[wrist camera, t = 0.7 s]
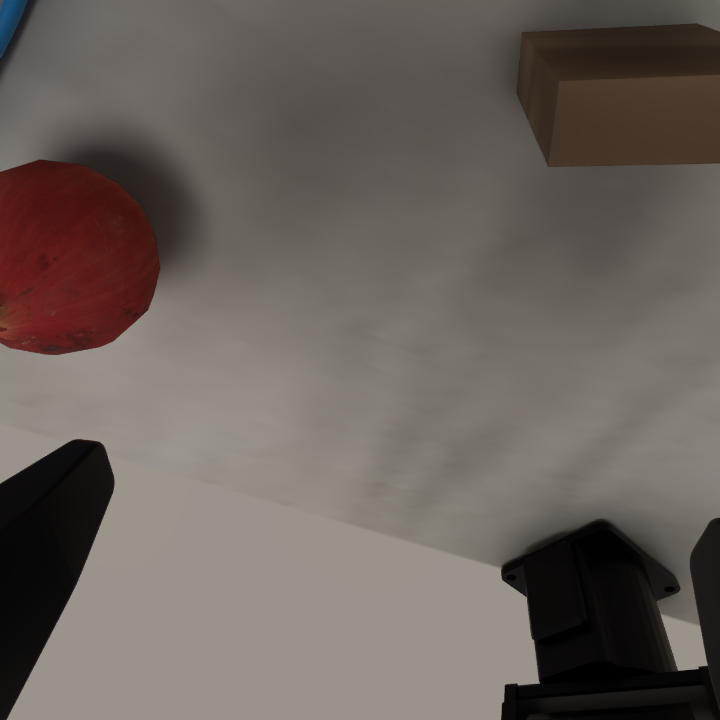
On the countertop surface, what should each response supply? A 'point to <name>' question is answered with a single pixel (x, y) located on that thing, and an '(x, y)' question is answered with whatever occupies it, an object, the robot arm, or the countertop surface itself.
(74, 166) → the onion
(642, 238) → the countertop surface
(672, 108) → the tile
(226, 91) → the countertop surface
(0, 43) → the alarm clock
